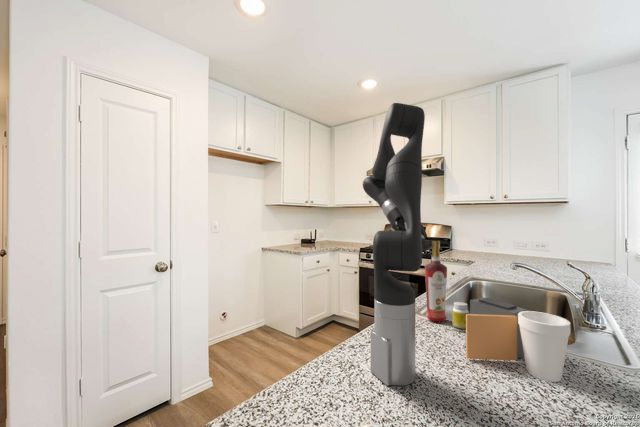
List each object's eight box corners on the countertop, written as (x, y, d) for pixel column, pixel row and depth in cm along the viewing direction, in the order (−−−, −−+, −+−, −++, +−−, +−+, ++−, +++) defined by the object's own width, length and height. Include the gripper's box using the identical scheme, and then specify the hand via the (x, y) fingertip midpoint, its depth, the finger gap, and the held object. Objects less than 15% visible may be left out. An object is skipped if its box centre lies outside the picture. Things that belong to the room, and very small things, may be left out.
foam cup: (549, 389, 58) (549, 327, 58) (509, 366, 67) (508, 313, 67) (581, 382, 60) (580, 323, 61) (538, 360, 69) (537, 309, 70)
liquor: (443, 317, 100) (443, 240, 100) (450, 324, 93) (449, 242, 93) (422, 315, 101) (422, 240, 101) (427, 323, 94) (427, 241, 94)
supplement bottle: (467, 333, 86) (467, 306, 86) (451, 329, 89) (451, 303, 89) (469, 328, 90) (469, 302, 90) (454, 325, 92) (454, 300, 93)
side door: (516, 360, 68) (516, 316, 69) (467, 358, 69) (467, 315, 70) (514, 359, 69) (514, 315, 69) (465, 356, 70) (465, 314, 70)
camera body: (513, 360, 70) (513, 310, 70) (470, 340, 81) (470, 298, 81) (527, 355, 72) (526, 307, 73) (483, 337, 83) (483, 295, 83)
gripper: (384, 204, 93) (410, 243, 82) (416, 205, 99) (444, 241, 88) (375, 220, 98) (398, 258, 87) (405, 220, 104) (431, 255, 93)
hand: (421, 249), depth 88 cm, fingers open, 4 cm apart
